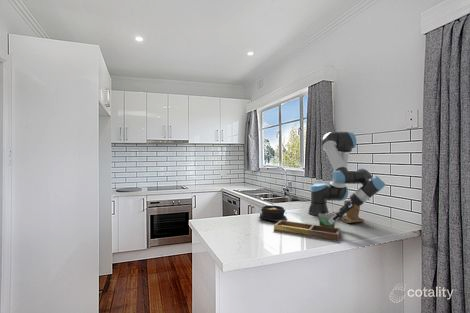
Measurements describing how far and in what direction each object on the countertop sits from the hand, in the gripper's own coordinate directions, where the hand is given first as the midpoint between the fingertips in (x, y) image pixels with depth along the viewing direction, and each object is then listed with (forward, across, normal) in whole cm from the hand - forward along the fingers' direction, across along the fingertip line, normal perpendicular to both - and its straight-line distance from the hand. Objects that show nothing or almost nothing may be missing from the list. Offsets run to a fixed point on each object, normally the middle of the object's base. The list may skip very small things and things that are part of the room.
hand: (330, 220), depth 154 cm
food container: (+5, 0, -4) cm, 6 cm away
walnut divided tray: (+12, -14, +4) cm, 19 cm away
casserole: (+32, +6, +24) cm, 40 cm away
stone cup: (-3, +28, -11) cm, 30 cm away
